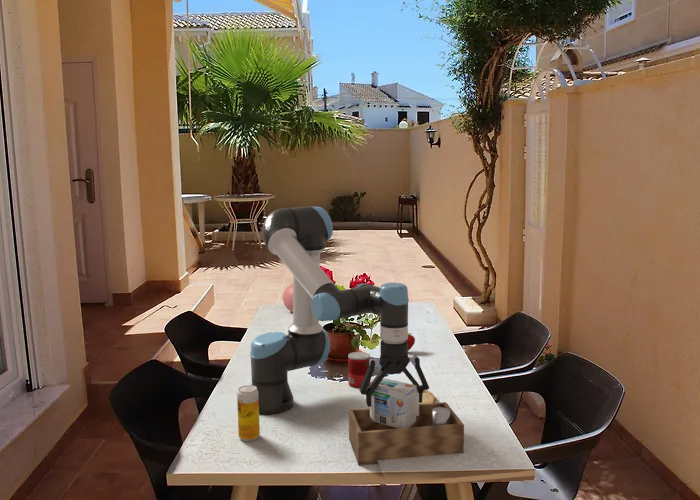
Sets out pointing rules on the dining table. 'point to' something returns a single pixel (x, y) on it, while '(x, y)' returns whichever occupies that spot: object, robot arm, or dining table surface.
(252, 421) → the beer can
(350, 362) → the canned food
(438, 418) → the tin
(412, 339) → the strawberry
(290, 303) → the pink rounded piece
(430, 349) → the dining table surface
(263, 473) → the dining table surface
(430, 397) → the slice of bread
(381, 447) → the crate
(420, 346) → the dining table surface
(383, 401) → the light bulb box
